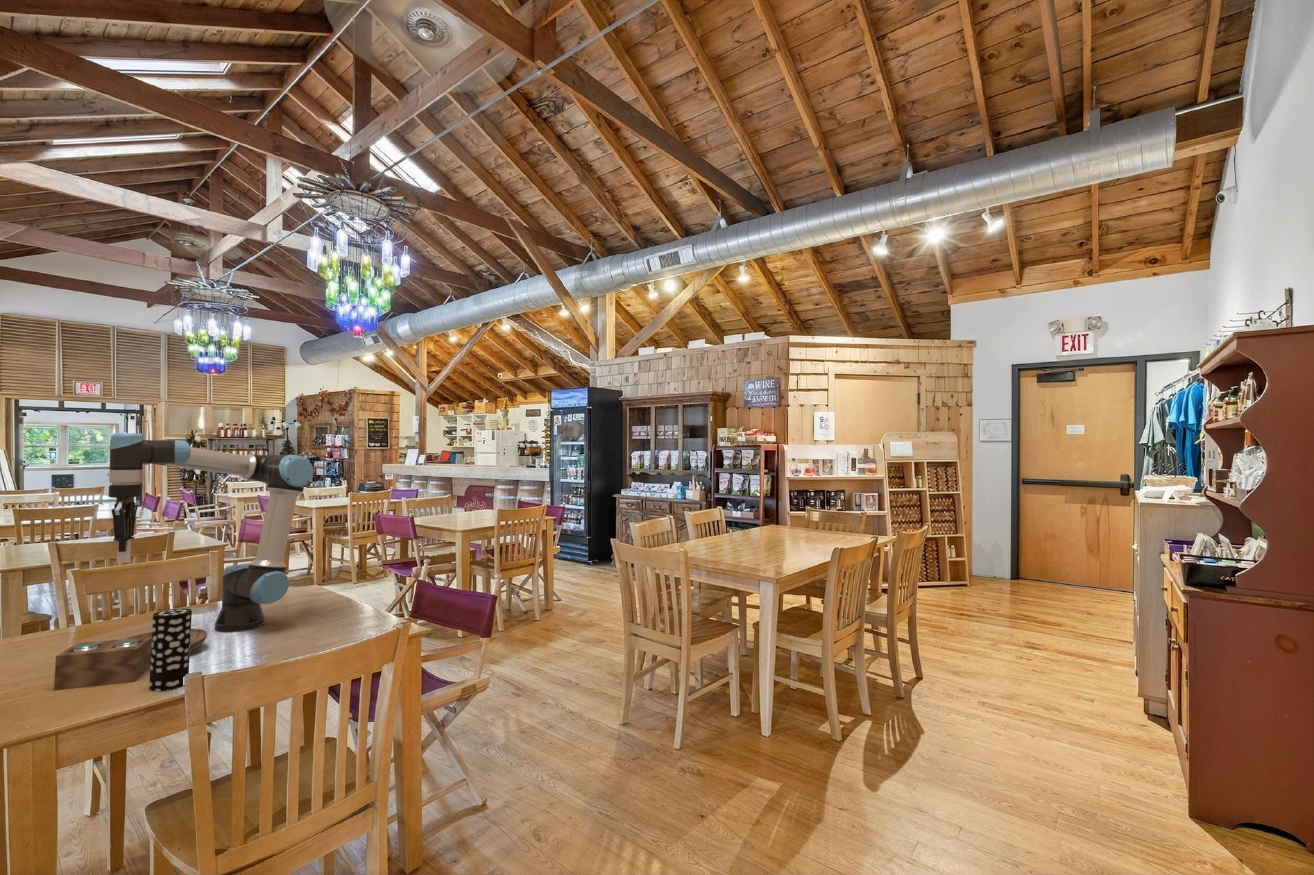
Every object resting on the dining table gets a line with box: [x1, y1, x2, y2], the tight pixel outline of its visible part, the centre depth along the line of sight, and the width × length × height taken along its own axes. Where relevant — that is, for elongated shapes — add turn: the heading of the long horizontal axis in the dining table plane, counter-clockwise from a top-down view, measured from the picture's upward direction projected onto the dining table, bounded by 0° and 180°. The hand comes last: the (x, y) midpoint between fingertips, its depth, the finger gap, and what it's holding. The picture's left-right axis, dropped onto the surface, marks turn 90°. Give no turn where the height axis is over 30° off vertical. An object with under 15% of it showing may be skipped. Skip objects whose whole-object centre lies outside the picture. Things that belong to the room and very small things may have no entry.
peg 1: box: [74, 642, 98, 651], centre depth 165 cm, size 5×5×8 cm
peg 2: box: [116, 640, 138, 648], centre depth 169 cm, size 5×5×8 cm
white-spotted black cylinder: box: [148, 608, 193, 692], centre depth 163 cm, size 8×8×20 cm
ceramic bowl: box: [125, 628, 208, 651], centre depth 188 cm, size 23×24×5 cm
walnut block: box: [53, 637, 152, 691], centre depth 167 cm, size 17×12×9 cm
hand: (123, 561), depth 178 cm, fingers closed
